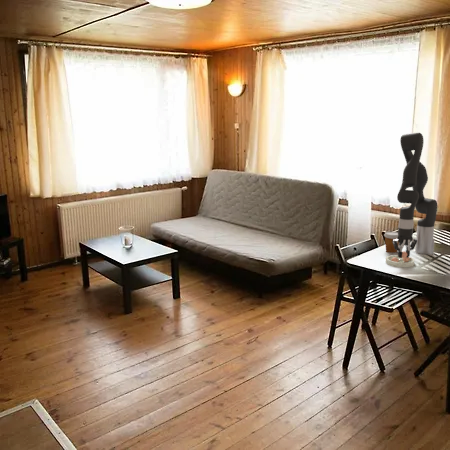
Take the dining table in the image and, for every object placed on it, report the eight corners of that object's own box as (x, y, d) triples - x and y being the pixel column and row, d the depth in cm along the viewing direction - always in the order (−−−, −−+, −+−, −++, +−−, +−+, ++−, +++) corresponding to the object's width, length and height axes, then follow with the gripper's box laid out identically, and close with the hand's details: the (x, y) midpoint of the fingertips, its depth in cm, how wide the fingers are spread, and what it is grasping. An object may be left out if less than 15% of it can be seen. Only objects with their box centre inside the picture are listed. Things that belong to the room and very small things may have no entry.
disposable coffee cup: (381, 253, 282) (383, 234, 279) (384, 249, 290) (385, 230, 287) (398, 255, 277) (399, 236, 275) (400, 251, 286) (402, 232, 283)
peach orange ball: (408, 258, 255) (408, 252, 254) (402, 258, 254) (402, 252, 254) (404, 256, 258) (405, 250, 258) (398, 256, 258) (399, 250, 257)
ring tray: (408, 260, 268) (408, 254, 268) (418, 268, 254) (418, 262, 253) (382, 260, 269) (382, 255, 268) (390, 268, 254) (391, 263, 254)
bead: (389, 261, 261) (391, 256, 259) (394, 261, 262) (396, 256, 261) (393, 265, 258) (395, 259, 256) (398, 265, 259) (400, 259, 258)
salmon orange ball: (407, 260, 264) (408, 254, 263) (410, 262, 261) (410, 256, 260) (401, 260, 264) (401, 254, 263) (403, 262, 261) (404, 256, 260)
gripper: (414, 224, 257) (411, 254, 261) (390, 225, 255) (388, 256, 259) (421, 227, 250) (419, 258, 254) (397, 229, 248) (394, 260, 252)
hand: (403, 257), depth 256 cm, fingers closed on peach orange ball, 3 cm apart
